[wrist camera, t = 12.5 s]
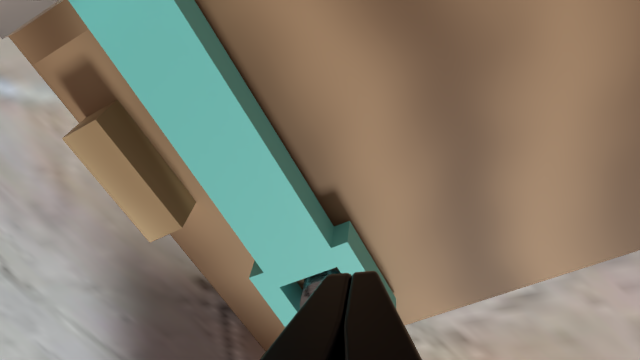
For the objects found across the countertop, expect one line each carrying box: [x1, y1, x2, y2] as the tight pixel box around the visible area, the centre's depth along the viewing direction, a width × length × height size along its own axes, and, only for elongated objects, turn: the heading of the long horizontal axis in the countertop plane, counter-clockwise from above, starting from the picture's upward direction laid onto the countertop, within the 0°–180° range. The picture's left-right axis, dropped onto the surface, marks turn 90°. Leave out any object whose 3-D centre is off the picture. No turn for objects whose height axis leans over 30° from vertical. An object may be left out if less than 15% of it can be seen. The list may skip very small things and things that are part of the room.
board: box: [9, 0, 640, 351], centre depth 17 cm, size 24×26×3 cm
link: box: [68, 0, 396, 327], centre depth 20 cm, size 20×4×1 cm, turn 28°
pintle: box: [300, 267, 341, 308], centre depth 23 cm, size 2×2×3 cm
